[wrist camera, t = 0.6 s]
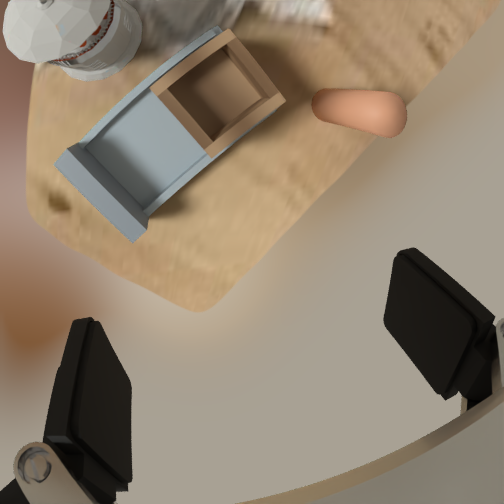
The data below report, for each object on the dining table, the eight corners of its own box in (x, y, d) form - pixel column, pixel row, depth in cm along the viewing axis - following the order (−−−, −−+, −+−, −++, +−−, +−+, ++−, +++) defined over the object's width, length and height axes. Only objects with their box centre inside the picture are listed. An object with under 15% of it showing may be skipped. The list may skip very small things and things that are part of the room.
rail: (215, 27, 27) (223, 14, 22) (276, 104, 33) (296, 107, 27) (71, 152, 30) (53, 164, 24) (137, 220, 35) (132, 243, 30)
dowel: (331, 82, 32) (394, 83, 22) (348, 110, 34) (413, 122, 24) (305, 100, 33) (362, 107, 23) (323, 128, 35) (383, 146, 25)
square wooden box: (218, 40, 26) (229, 28, 21) (266, 99, 30) (286, 101, 25) (153, 89, 27) (149, 87, 22) (204, 147, 31) (211, 158, 26)
